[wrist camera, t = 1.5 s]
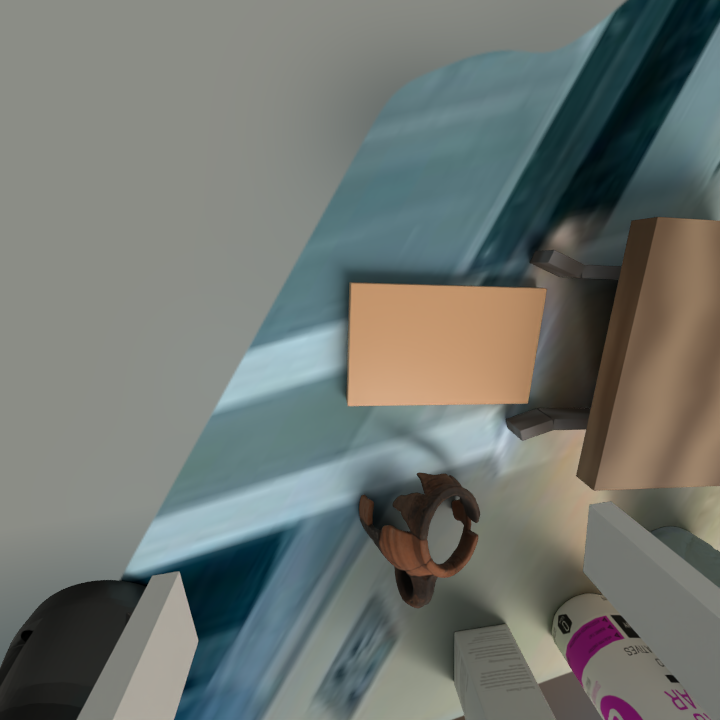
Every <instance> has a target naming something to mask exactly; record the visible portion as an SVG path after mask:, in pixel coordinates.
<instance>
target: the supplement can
mask: <svg viewBox="0 0 720 720" xmlns="http://www.w3.org/2000/svg"><path fill="white" fill-rule="evenodd" d="M552 636H553V639H554V642H555V644H556V645H557V647H558V648H559V650H560V652H561V653H562V655H563V656H564V658H565V660H566V661H567V663H568V664H569V666H570V668H571V669H572V671H573V672H574V674H575V675H576V677H577V679H578V680H579V682H580V683H581V685H582V687H583V688H584V690H585V691H586V693H587V694H588V696H589V698H590V699H591V701H592V703H593V704H594V706H595V707H596V709H597V711H598V712H599V714H600V715H601V717H602V718H603V720H712V719H711V718H710V717H709V716H708V715H707V713H706V712H705V711H704V710H703V709H702V708H701V707H700V705H699V704H698V703H697V702H696V701H695V700H694V699H693V697H692V696H691V695H690V694H689V693H688V692H687V691H686V689H685V688H684V687H683V686H682V685H681V684H680V682H679V681H678V680H677V679H676V678H675V677H674V676H673V674H672V673H671V672H670V671H669V670H668V669H667V668H666V666H665V665H664V664H663V663H662V662H661V661H660V659H659V658H658V657H657V656H656V655H655V654H654V653H653V651H652V650H651V649H650V648H649V647H648V646H647V645H646V643H645V642H644V641H643V640H642V639H641V638H640V637H639V635H638V634H637V633H636V632H635V631H634V630H633V628H632V627H631V626H630V625H629V624H628V623H627V622H626V620H625V619H624V618H623V617H622V616H621V615H620V614H619V612H618V611H617V610H616V609H615V608H614V607H613V606H612V604H611V603H610V602H609V601H608V600H607V599H606V597H605V596H604V595H598V594H592V593H585V594H582V595H578V596H575V597H573V598H571V599H570V600H568V601H566V602H565V603H564V604H563V605H562V606H561V607H560V608H559V609H558V611H557V613H556V614H555V616H554V620H553V627H552Z"/></svg>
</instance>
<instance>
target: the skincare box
mask: <svg viewBox="0 0 720 720" xmlns="http://www.w3.org/2000/svg"><path fill="white" fill-rule="evenodd" d="M454 685H455V688H456V691H457V694H458V697H459V700H460V703H461V706H462V709H463V712H464V715H465V719H466V720H556V719H555V717H554V715H553V713H552V711H551V709H550V707H549V705H548V703H547V701H546V699H545V697H544V695H543V694H542V692H541V690H540V688H539V686H538V684H537V682H536V680H535V678H534V676H533V674H532V672H531V670H530V668H529V666H528V664H527V662H526V660H525V658H524V657H523V655H522V653H521V651H520V649H519V647H518V645H517V643H516V641H515V639H514V637H513V635H512V633H511V631H510V629H509V627H508V625H507V624H502V625H496V626H490V627H484V628H477V629H471V630H464V631H458V632H455V634H454Z"/></svg>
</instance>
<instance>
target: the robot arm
mask: <svg viewBox="0 0 720 720" xmlns="http://www.w3.org/2000/svg"><path fill="white" fill-rule="evenodd" d="M583 572H584V573H585V575H586V576H587V577H588V578H589V579H590V580H591V581H592V583H593V584H594V585H595V586H596V587H597V588H598V589H599V591H600V592H601V593H602V594H603V595H604V596H605V597H606V599H607V600H608V601H609V602H610V603H611V604H612V606H613V607H614V608H615V609H616V610H617V611H618V612H619V614H620V615H621V616H622V617H623V618H624V619H625V620H626V622H627V623H628V624H629V625H630V626H631V627H632V628H633V630H634V631H635V632H636V633H637V634H638V635H639V637H640V638H641V639H642V640H643V641H644V642H645V643H646V645H647V646H648V647H649V648H650V649H651V650H652V651H653V653H654V654H655V655H656V656H657V657H658V658H659V659H660V661H661V662H662V663H663V664H664V665H665V666H666V668H667V669H668V670H669V671H670V672H671V673H672V674H673V676H674V677H675V678H676V679H677V680H678V681H679V682H680V684H681V685H682V686H683V687H684V688H685V689H686V691H687V692H688V693H689V694H690V695H691V696H692V697H693V699H694V700H695V701H696V702H697V703H698V704H699V705H700V707H701V708H702V709H703V710H704V711H705V712H706V713H707V715H708V716H709V717H710V718H711V719H712V720H720V588H719V587H717V586H716V585H715V584H714V583H712V582H711V581H710V580H709V579H707V578H706V577H705V576H704V575H702V574H701V573H700V572H699V571H697V570H696V569H695V568H694V567H692V566H691V565H690V564H689V563H687V562H686V561H685V560H684V559H682V558H681V557H680V556H679V555H677V554H676V553H675V552H674V551H672V550H671V549H670V548H669V547H667V546H666V545H665V544H664V543H662V542H661V541H660V540H659V539H657V538H656V537H655V536H654V535H652V534H651V533H650V532H649V531H647V530H646V529H645V528H644V527H642V526H641V525H640V524H639V523H637V522H636V521H635V520H634V519H632V518H631V517H630V516H629V515H627V514H626V513H625V512H624V511H622V510H621V509H620V508H619V507H617V506H616V505H615V504H614V503H612V502H611V501H609V502H603V503H597V504H591V505H589V515H588V525H587V535H586V546H585V556H584V566H583ZM197 644H198V638H197V634H196V631H195V627H194V623H193V620H192V616H191V612H190V609H189V605H188V602H187V598H186V594H185V591H184V587H183V583H182V580H181V576H180V572H173V573H167V574H161V575H154V576H152V578H151V580H150V581H149V583H148V585H147V587H146V586H143V585H140V584H136V583H131V582H125V581H116V580H101V581H91V582H85V583H81V584H77V585H74V586H71V587H68V588H65V589H63V590H61V591H59V592H57V593H55V594H54V595H52V596H51V597H49V598H48V599H46V600H45V601H44V602H43V603H42V604H41V605H40V606H39V607H38V608H37V609H36V610H35V611H34V613H33V614H32V615H31V616H30V617H29V619H28V620H27V621H26V622H25V624H24V625H23V626H22V627H21V629H20V630H19V631H18V633H17V634H16V636H15V637H14V639H13V641H12V642H11V645H10V647H9V649H8V651H7V653H6V656H5V658H4V660H3V662H2V665H1V667H0V720H174V717H175V714H176V711H177V708H178V704H179V701H180V698H181V695H182V692H183V689H184V685H185V682H186V679H187V676H188V673H189V669H190V666H191V663H192V660H193V657H194V653H195V650H196V647H197Z"/></svg>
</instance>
